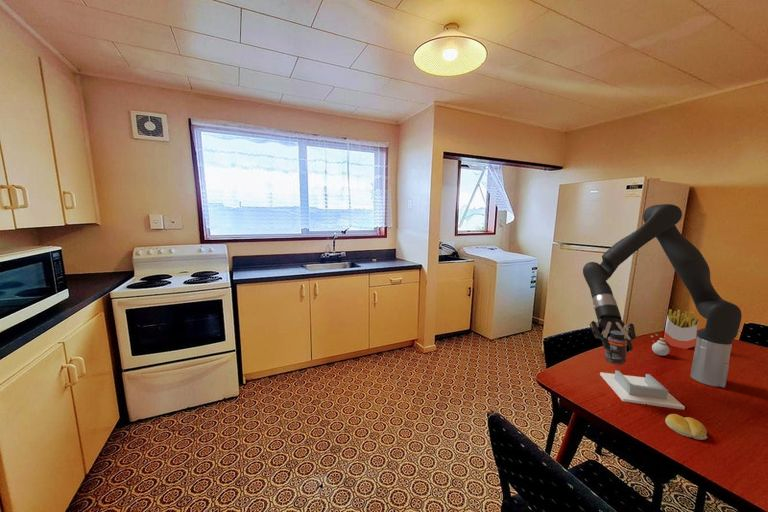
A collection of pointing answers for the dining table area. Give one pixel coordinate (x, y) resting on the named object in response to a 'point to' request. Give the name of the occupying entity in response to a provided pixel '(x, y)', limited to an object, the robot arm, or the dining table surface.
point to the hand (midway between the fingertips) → (618, 350)
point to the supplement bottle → (616, 348)
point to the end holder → (641, 390)
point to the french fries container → (681, 329)
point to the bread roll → (686, 426)
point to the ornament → (660, 347)
